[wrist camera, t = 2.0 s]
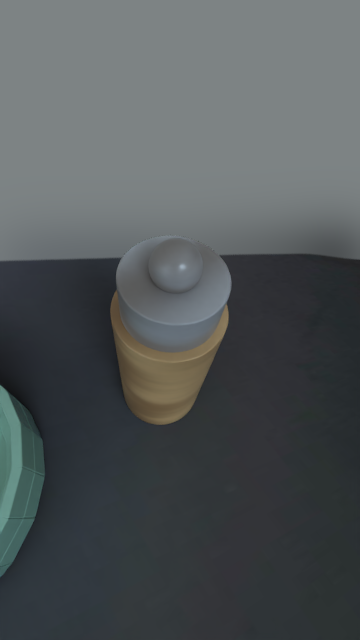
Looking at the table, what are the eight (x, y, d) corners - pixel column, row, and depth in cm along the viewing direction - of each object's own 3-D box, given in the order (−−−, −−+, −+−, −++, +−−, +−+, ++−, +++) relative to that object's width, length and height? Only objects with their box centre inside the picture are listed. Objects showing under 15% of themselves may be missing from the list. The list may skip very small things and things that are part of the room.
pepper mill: (211, 397, 22) (285, 267, 10) (148, 440, 20) (154, 339, 8) (170, 342, 24) (194, 183, 12) (110, 376, 22) (72, 225, 10)
